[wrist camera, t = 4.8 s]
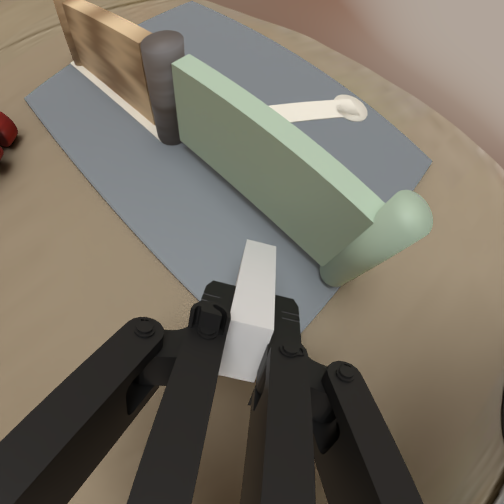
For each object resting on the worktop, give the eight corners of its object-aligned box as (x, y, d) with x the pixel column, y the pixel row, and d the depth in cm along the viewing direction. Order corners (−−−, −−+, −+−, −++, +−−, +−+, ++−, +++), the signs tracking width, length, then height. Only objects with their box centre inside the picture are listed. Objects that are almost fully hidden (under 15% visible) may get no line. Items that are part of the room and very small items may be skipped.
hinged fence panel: (176, 147, 21) (162, 45, 13) (197, 131, 22) (194, 29, 13) (336, 293, 19) (419, 248, 11) (355, 270, 20) (439, 215, 11)
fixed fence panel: (196, 135, 23) (192, 25, 13) (172, 154, 22) (154, 44, 12) (90, 54, 25) (69, -23, 15) (71, 66, 24) (45, -10, 15)
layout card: (430, 163, 25) (433, 160, 24) (268, 367, 18) (269, 367, 18) (191, 3, 29) (191, 0, 28) (25, 100, 23) (23, 97, 22)
